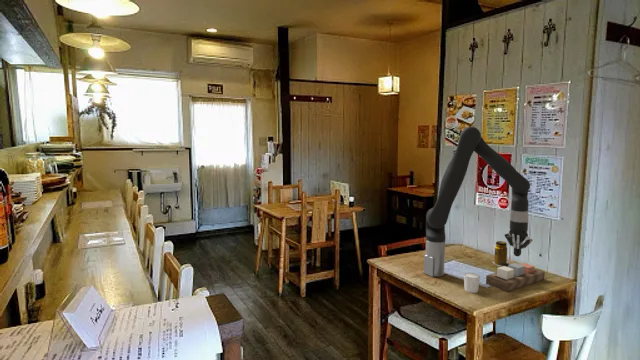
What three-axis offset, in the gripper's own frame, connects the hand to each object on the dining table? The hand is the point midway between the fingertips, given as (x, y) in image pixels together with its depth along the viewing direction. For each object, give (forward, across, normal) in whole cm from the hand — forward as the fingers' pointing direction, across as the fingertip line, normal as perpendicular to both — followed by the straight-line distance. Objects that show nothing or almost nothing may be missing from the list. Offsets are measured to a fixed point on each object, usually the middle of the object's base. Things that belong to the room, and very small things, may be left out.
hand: (517, 255), depth 180 cm
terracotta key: (+10, 0, +8) cm, 13 cm away
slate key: (+9, 0, 0) cm, 9 cm away
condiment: (+13, -19, +17) cm, 29 cm away
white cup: (+13, -4, -26) cm, 30 cm away
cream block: (+9, 0, -8) cm, 12 cm away
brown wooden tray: (+13, 0, 0) cm, 13 cm away
